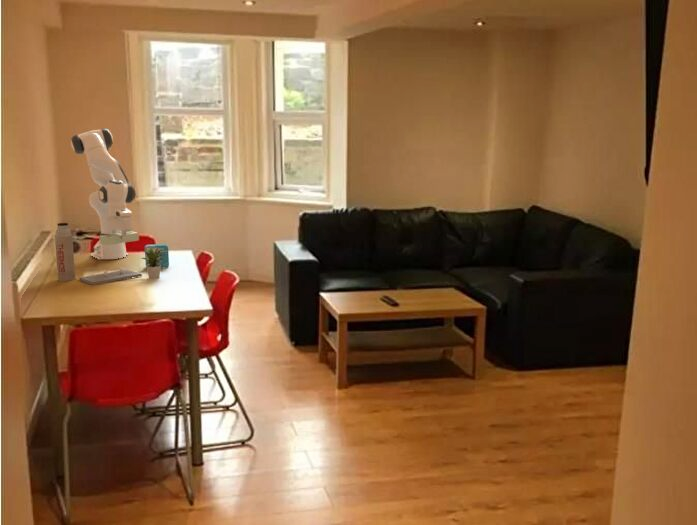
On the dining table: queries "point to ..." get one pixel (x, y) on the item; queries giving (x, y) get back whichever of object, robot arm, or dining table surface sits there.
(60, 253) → the thermos bottle
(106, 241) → the cream rectangular bar
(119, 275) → the boss board
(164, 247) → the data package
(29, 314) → the dining table surface
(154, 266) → the house plant
